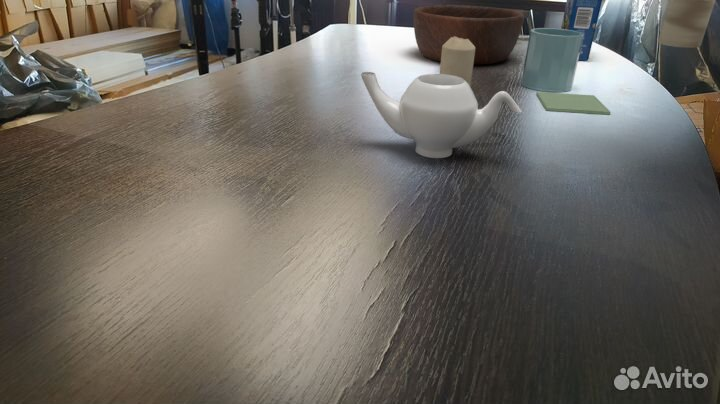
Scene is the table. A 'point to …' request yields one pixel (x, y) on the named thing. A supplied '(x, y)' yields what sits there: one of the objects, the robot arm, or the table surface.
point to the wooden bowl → (468, 30)
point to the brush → (685, 23)
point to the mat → (572, 103)
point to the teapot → (437, 112)
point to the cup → (551, 59)
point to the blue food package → (582, 21)
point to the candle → (458, 58)
